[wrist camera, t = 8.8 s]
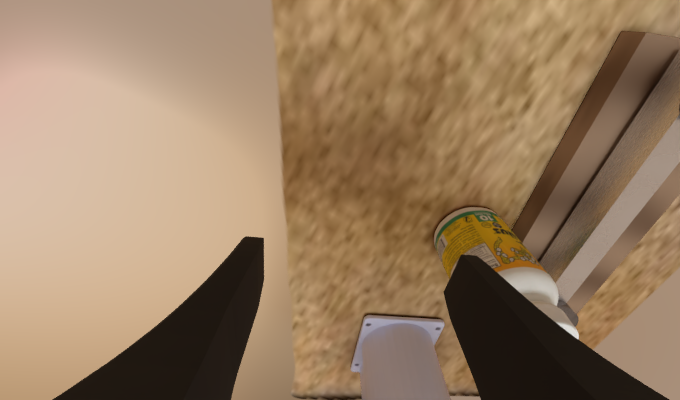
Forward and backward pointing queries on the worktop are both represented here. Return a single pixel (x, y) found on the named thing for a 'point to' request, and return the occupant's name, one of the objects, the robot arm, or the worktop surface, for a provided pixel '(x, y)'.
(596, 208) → the lever
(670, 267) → the worktop surface
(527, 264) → the supplement bottle
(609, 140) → the base board
